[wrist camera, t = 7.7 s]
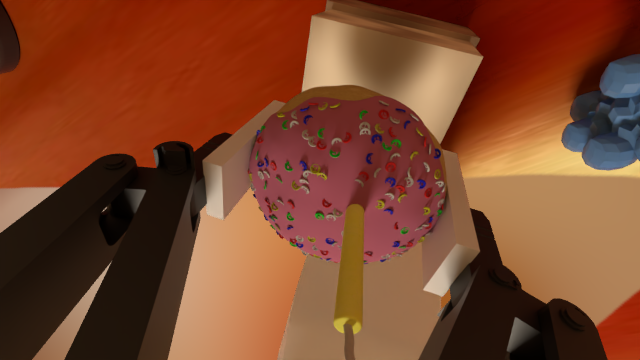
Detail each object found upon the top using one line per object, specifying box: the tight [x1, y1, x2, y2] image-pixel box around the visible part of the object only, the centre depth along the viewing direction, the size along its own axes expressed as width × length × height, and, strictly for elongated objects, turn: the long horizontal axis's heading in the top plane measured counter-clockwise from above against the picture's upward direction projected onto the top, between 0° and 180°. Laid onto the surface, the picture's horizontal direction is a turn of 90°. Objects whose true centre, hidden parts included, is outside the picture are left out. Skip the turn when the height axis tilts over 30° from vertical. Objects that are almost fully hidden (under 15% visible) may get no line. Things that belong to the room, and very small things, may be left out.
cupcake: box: [248, 85, 447, 360], centre depth 11 cm, size 9×8×12 cm
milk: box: [277, 242, 441, 360], centre depth 27 cm, size 12×12×26 cm
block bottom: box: [325, 0, 480, 48], centre depth 26 cm, size 11×11×6 cm
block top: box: [302, 9, 483, 144], centre depth 21 cm, size 10×10×5 cm
